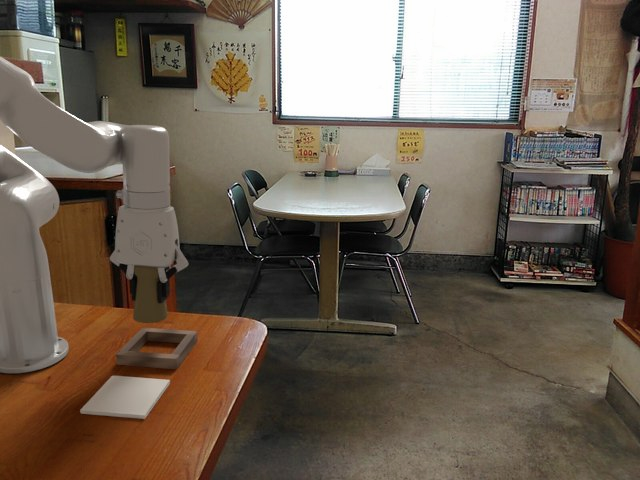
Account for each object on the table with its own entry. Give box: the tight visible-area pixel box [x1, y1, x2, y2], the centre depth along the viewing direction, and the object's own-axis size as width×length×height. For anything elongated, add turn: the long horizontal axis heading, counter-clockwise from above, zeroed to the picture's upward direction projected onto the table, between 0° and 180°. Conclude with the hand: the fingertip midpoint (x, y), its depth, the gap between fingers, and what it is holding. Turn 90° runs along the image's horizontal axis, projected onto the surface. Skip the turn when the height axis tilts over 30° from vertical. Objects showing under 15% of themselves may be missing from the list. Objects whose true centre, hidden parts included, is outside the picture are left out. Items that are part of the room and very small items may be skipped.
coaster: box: [79, 375, 171, 420], centre depth 83 cm, size 10×10×1 cm
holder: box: [115, 327, 199, 370], centre depth 98 cm, size 11×11×2 cm
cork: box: [132, 265, 169, 324], centre depth 94 cm, size 6×6×11 cm
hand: (150, 298), depth 95 cm, fingers closed on cork, 4 cm apart
